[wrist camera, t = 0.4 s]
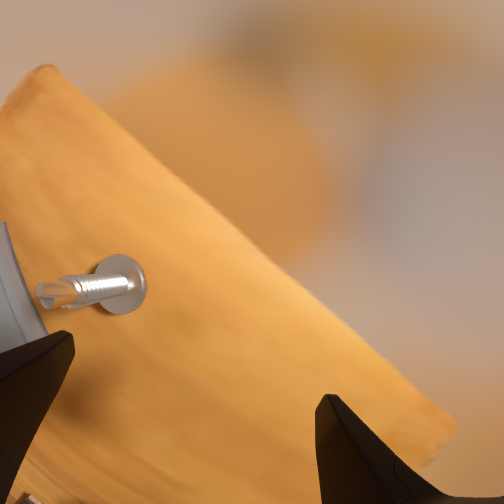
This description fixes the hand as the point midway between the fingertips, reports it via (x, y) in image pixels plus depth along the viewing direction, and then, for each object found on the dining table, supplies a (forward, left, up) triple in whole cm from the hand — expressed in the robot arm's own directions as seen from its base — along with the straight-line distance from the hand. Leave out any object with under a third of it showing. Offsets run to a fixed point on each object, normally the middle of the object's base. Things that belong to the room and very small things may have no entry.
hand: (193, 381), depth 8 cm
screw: (-5, +6, -15) cm, 17 cm away
